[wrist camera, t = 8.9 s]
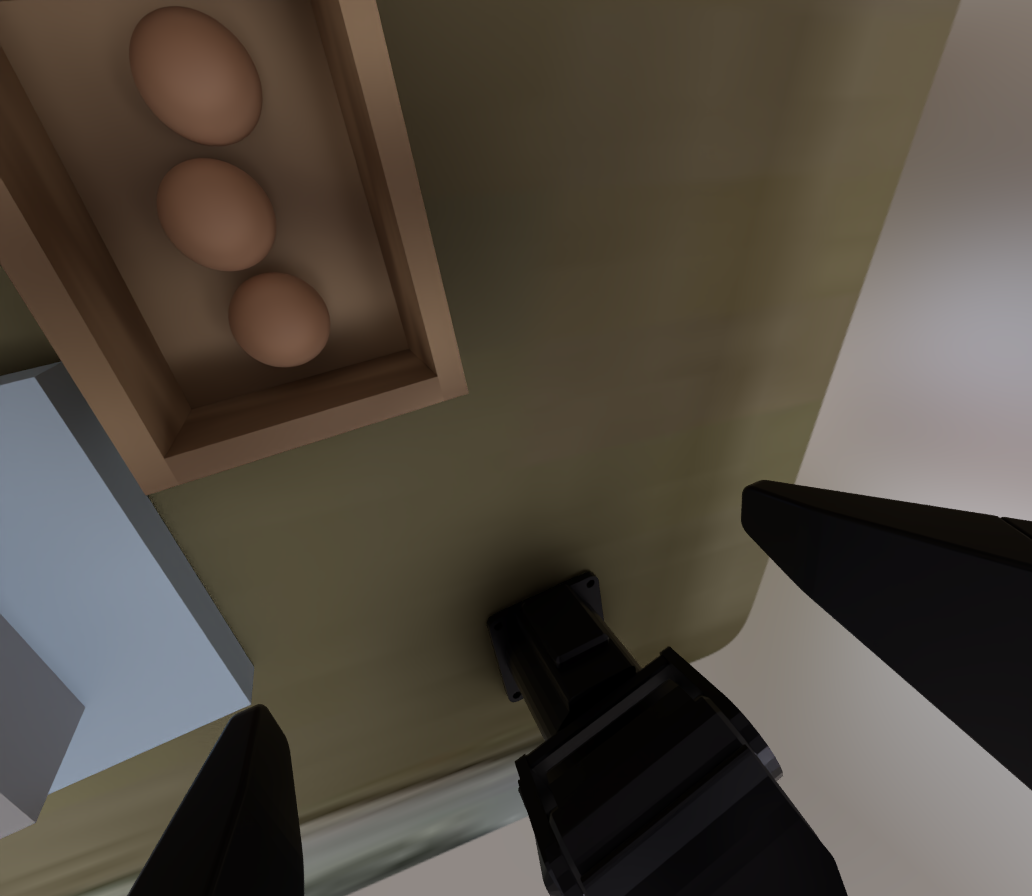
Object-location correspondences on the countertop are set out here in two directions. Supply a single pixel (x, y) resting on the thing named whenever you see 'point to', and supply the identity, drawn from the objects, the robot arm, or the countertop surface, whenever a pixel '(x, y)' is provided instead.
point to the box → (219, 224)
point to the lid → (92, 606)
